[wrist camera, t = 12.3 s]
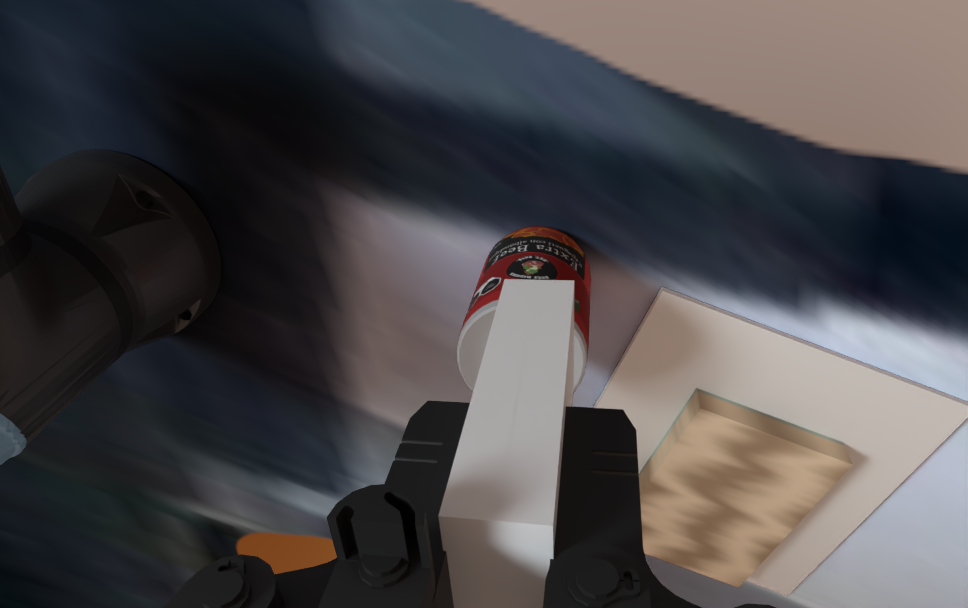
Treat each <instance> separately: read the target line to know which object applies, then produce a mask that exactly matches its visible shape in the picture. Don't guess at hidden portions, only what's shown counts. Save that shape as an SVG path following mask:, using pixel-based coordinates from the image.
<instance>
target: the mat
mask: <svg viewBox="0 0 968 608" xmlns="http://www.w3.org/2000/svg"><path fill="white" fill-rule="evenodd" d="M696 388H698V389H701V390H704V391H706V392H709V393H712V394H714V395H717V396H720V397H722V398H725V399H728V400H731V401H733V402H736V403H739V404H741V405H744V406H747V407H749V408H752V409H755V410H757V411H760V412H763V413H765V414H768V415H771V416H774V417H776V418H779V419H782V420H784V421H787V422H790V423H792V424H795V425H798V426H800V427H803V428H806V429H808V430H811V431H814V432H817V433H819V434H822V435H825V436H827V437H830V438H833V439H835V440H838V441H841V442H843V444H844V446H845V448H846V450H847V453H848V455H849V457H850V459H851V462H852V464H853V465H852V466H851V467H850V469H849V470H848V471H847V472H846V473H845V474H844V475H843V476H842V477H841V478H840V479H839V480H838V481H837V483H836V484H835V485H834V486H833V487H832V488H831V489H830V490H829V491H828V492H827V493H826V494H825V495H824V497H823V498H822V499H821V500H820V501H819V502H818V503H817V504H816V505H815V506H814V507H813V508H812V509H811V511H810V512H809V513H808V514H807V515H806V516H805V517H804V518H803V519H802V520H801V521H800V522H799V523H798V525H797V526H796V527H795V528H794V529H793V530H792V531H791V532H790V533H789V534H788V535H787V536H786V537H785V539H784V540H783V541H782V542H781V543H780V544H779V545H778V546H777V547H776V548H775V549H774V550H773V551H772V553H771V554H770V555H769V556H768V557H767V558H766V559H765V560H764V561H763V562H762V563H761V564H760V565H759V567H758V568H757V569H756V570H755V571H754V572H753V573H752V574H751V575H750V576H749V577H748V578H747V579H746V581H748V582H751V583H753V584H756V585H759V586H762V587H764V588H767V589H770V590H773V591H775V592H778V593H781V594H784V595H786V596H788V595H789V594H790V593H791V592H792V591H793V590H794V589H795V588H796V587H797V586H798V585H799V584H800V583H801V582H802V581H803V580H804V579H805V578H806V577H807V576H808V575H809V574H810V573H811V572H812V571H813V570H814V569H815V568H816V567H817V566H818V565H819V564H820V563H821V562H822V561H823V560H824V559H825V558H826V557H827V556H828V555H829V554H830V553H831V552H832V551H833V550H834V549H835V548H836V547H837V546H838V545H839V544H840V543H841V542H842V541H843V540H844V539H845V538H846V537H847V536H848V535H849V534H850V533H851V532H852V531H853V530H855V529H856V528H857V527H858V526H859V525H860V524H861V523H862V522H863V521H864V520H865V519H866V518H867V517H868V516H869V515H870V514H871V513H872V512H873V511H874V510H875V509H876V508H877V507H878V506H879V505H880V504H881V503H882V502H883V501H884V500H885V499H886V498H887V497H888V496H889V495H890V494H891V493H892V492H893V491H894V490H895V489H896V488H897V487H898V486H899V485H900V484H901V483H902V482H903V481H904V480H905V479H906V478H907V477H908V476H909V475H910V474H911V473H912V472H913V471H914V470H915V469H916V468H917V467H918V466H919V465H920V464H921V463H922V462H923V461H924V460H925V459H926V458H927V457H928V456H929V455H930V454H931V453H932V452H933V451H934V450H935V449H936V448H937V447H938V446H939V445H940V444H941V443H943V442H944V441H945V440H946V439H947V438H948V437H949V436H950V435H951V434H952V433H953V432H954V431H955V430H956V429H957V428H958V427H959V426H960V425H961V424H962V423H963V422H964V421H965V420H966V419H967V418H968V402H967V401H964V400H961V399H959V398H956V397H953V396H951V395H948V394H945V393H943V392H940V391H937V390H935V389H932V388H929V387H927V386H924V385H921V384H919V383H916V382H913V381H911V380H908V379H906V378H903V377H900V376H898V375H895V374H892V373H890V372H887V371H884V370H882V369H879V368H876V367H874V366H871V365H868V364H866V363H863V362H860V361H858V360H855V359H852V358H850V357H847V356H844V355H842V354H839V353H836V352H834V351H831V350H829V349H826V348H823V347H821V346H818V345H815V344H813V343H810V342H807V341H805V340H802V339H799V338H797V337H794V336H791V335H789V334H786V333H783V332H781V331H778V330H775V329H773V328H770V327H767V326H765V325H762V324H759V323H757V322H754V321H752V320H749V319H746V318H744V317H741V316H738V315H736V314H733V313H730V312H728V311H725V310H722V309H720V308H717V307H714V306H712V305H709V304H706V303H704V302H701V301H698V300H696V299H693V298H690V297H688V296H685V295H682V294H680V293H677V292H675V291H672V290H669V289H667V288H664V287H661V289H660V291H659V292H658V294H657V296H656V298H655V299H654V301H653V303H652V305H651V307H650V308H649V310H648V312H647V314H646V315H645V317H644V319H643V321H642V322H641V324H640V326H639V328H638V329H637V331H636V333H635V335H634V336H633V338H632V340H631V342H630V343H629V345H628V347H627V349H626V351H625V352H624V354H623V356H622V358H621V359H620V361H619V363H618V365H617V366H616V368H615V370H614V372H613V373H612V375H611V377H610V379H609V380H608V382H607V384H606V386H605V388H604V389H603V391H602V393H601V395H600V396H599V398H598V400H597V402H596V403H595V405H594V407H593V408H606V409H623V410H624V412H625V413H626V415H627V416H628V418H629V420H630V421H631V423H632V424H633V426H634V427H635V429H636V434H637V451H638V469H639V473H640V471H641V470H642V468H643V467H644V465H645V464H646V462H647V461H648V459H649V458H650V456H651V455H652V453H653V452H654V450H655V449H656V447H657V446H658V444H659V443H660V441H661V440H662V438H663V437H664V435H665V434H666V432H667V431H668V429H669V428H670V426H671V425H672V423H673V422H674V420H675V419H676V417H677V416H678V414H679V413H680V412H681V410H682V409H683V407H684V406H685V404H686V403H687V401H688V400H689V398H690V397H691V395H692V394H693V392H694V391H695V389H696Z"/></svg>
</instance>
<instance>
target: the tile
mask: <svg viewBox="0 0 968 608" xmlns="http://www.w3.org/2000/svg"><path fill="white" fill-rule="evenodd" d="M852 465H853V464H852V462H851V459H850V457H849V455H848V453H847V450H846V448H845V446H844V444H843V442H841V441H838V440H835V439H833V438H830V437H827V436H825V435H822V434H819V433H817V432H814V431H811V430H808V429H806V428H803V427H800V426H798V425H795V424H792V423H790V422H787V421H784V420H782V419H779V418H776V417H774V416H771V415H768V414H765V413H763V412H760V411H757V410H755V409H752V408H749V407H747V406H744V405H741V404H739V403H736V402H733V401H731V400H728V399H725V398H722V397H720V396H717V395H714V394H712V393H709V392H706V391H704V390H701V389H698V388H696V389H695V391H694V392H693V394H692V395H691V397H690V398H689V400H688V401H687V403H686V404H685V406H684V407H683V409H682V410H681V412H680V413H679V414H678V416H677V417H676V419H675V420H674V422H673V423H672V425H671V426H670V428H669V429H668V431H667V432H666V434H665V435H664V437H663V438H662V440H661V441H660V443H659V444H658V446H657V447H656V449H655V450H654V452H653V453H652V455H651V456H650V458H649V459H648V461H647V462H646V464H645V465H644V467H643V468H642V470H641V471H640V473H639V486H640V503H641V520H642V537H643V550H644V553H645V554H647V555H650V556H653V557H656V558H658V559H661V560H664V561H667V562H670V563H672V564H675V565H678V566H681V567H683V568H686V569H689V570H692V571H694V572H697V573H700V574H703V575H705V576H708V577H711V578H714V579H716V580H719V581H722V582H725V583H727V584H730V585H733V586H736V587H740V586H741V585H742V584H743V583H744V582H745V581H746V579H747V578H748V577H749V576H750V575H751V574H752V573H753V572H754V571H755V570H756V569H757V568H758V567H759V565H760V564H761V563H762V562H763V561H764V560H765V559H766V558H767V557H768V556H769V555H770V554H771V553H772V551H773V550H774V549H775V548H776V547H777V546H778V545H779V544H780V543H781V542H782V541H783V540H784V539H785V537H786V536H787V535H788V534H789V533H790V532H791V531H792V530H793V529H794V528H795V527H796V526H797V525H798V523H799V522H800V521H801V520H802V519H803V518H804V517H805V516H806V515H807V514H808V513H809V512H810V511H811V509H812V508H813V507H814V506H815V505H816V504H817V503H818V502H819V501H820V500H821V499H822V498H823V497H824V495H825V494H826V493H827V492H828V491H829V490H830V489H831V488H832V487H833V486H834V485H835V484H836V483H837V481H838V480H839V479H840V478H841V477H842V476H843V475H844V474H845V473H846V472H847V471H848V470H849V469H850V467H851V466H852Z"/></svg>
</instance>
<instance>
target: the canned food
mask: <svg viewBox="0 0 968 608" xmlns="http://www.w3.org/2000/svg"><path fill="white" fill-rule="evenodd" d="M505 279H527V280H574V382H573V393H574V392H575V390H576V389H577V387H578V386H579V384H580V383H581V381H582V378H583V376H584V373H585V368H586V364H587V357H588V345H589V315H590V286H591V276H590V267H589V264H588V261H587V258H586V257H585V255H584V253H583V251H582V250H581V248H580V247H579V246H578V245H577V244H576V243H575V241H574V240H573V239H571V238H570V237H569V236H567V235H566V234H564V233H562V232H560V231H558V230H556V229H553V228H549V227H542V226H533V227H525V228H522V229H519V230H516V231H514V232H512V233H511V234H509V235H507V236H506V237H504V238H503V239H502V240H501V241H499V242H498V243H497V244H496V245H495V246H494V248H493V249H492V250H491V252H490V253H489V255H488V257H487V259H486V262H485V265H484V267H483V270H482V273H481V276H480V278H479V281H478V284H477V287H476V290H475V292H474V295H473V298H472V301H471V303H470V306H469V309H468V312H467V315H466V317H465V320H464V323H463V327H462V330H461V333H460V337H459V341H458V347H457V362H458V367H459V371H460V373H461V375H462V377H463V380H464V381H465V383H466V384H467V385H468V387H469V388H470V389H471V390H472V391H473V390H474V387H475V383H476V380H477V376H478V373H479V369H480V365H481V362H482V358H483V355H484V351H485V348H486V344H487V340H488V337H489V333H490V330H491V326H492V323H493V319H494V315H495V312H496V308H497V305H498V301H499V297H500V294H501V290H502V287H503V283H504V280H505Z"/></svg>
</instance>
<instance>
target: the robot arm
mask: <svg viewBox="0 0 968 608" xmlns="http://www.w3.org/2000/svg"><path fill="white" fill-rule="evenodd" d="M220 280H221V257H220V252H219V248H218V244H217V241H216V238H215V236H214V233H213V231H212V229H211V227H210V225H209V223H208V221H207V219H206V218H205V216H204V214H203V213H202V211H201V210H200V209H199V207H198V206H197V205H196V203H195V202H194V201H193V200H192V198H191V197H190V196H189V195H188V194H187V193H186V192H185V191H184V190H183V189H182V188H181V187H180V186H179V185H178V184H177V183H176V182H174V181H173V180H172V179H171V178H169V177H168V176H167V175H165V174H164V173H163V172H161V171H160V170H158V169H156V168H155V167H153V166H151V165H150V164H148V163H146V162H144V161H142V160H140V159H137V158H135V157H132V156H129V155H126V154H123V153H119V152H115V151H109V150H84V151H79V152H75V153H72V154H70V155H67V156H65V157H63V158H61V159H59V160H56V161H54V162H52V163H50V164H48V165H46V166H44V167H43V168H41V169H40V170H39V171H37V172H36V173H35V174H34V175H33V176H32V177H31V178H30V179H29V180H28V181H27V182H26V184H25V185H24V187H23V188H22V189H21V190H20V191H19V192H18V193H17V195H16V196H15V197H14V198H13V195H12V193H11V191H10V188H9V186H8V183H7V181H6V178H5V176H4V173H3V171H2V168H1V166H0V465H1V464H2V463H3V462H5V461H6V460H7V459H9V458H11V457H14V456H16V455H18V454H19V453H21V451H22V450H23V449H24V447H26V446H25V445H26V444H28V443H29V442H30V441H31V440H32V439H33V438H34V437H35V436H36V435H37V434H38V433H39V432H40V431H41V430H42V429H44V428H45V427H46V426H47V425H48V424H49V423H50V422H51V421H52V420H53V419H54V418H55V417H56V416H57V415H58V414H60V413H61V412H62V411H63V410H64V409H65V408H66V407H67V406H68V405H69V404H70V403H71V402H72V401H73V400H74V399H76V398H77V397H78V396H79V395H80V394H81V393H82V392H83V391H84V390H85V389H86V388H87V387H88V386H89V385H90V384H92V383H93V382H94V381H95V380H96V379H97V378H98V377H99V376H100V375H101V374H102V373H103V372H104V371H105V370H106V369H108V368H109V367H110V366H111V365H112V364H113V363H114V362H115V361H116V360H117V359H118V358H119V357H121V356H122V355H123V354H124V353H126V352H129V351H131V350H134V349H136V348H139V347H142V346H144V345H147V344H149V343H152V342H154V341H157V340H160V339H162V338H165V337H167V336H170V335H173V334H175V333H177V332H179V331H181V330H183V329H184V328H186V327H187V326H189V325H190V324H191V323H192V322H193V321H194V320H196V319H197V318H198V317H199V316H200V315H201V314H202V313H203V312H204V311H205V310H206V309H207V308H208V307H209V305H210V304H211V303H212V301H213V300H214V298H215V296H216V294H217V292H218V289H219V285H220ZM573 382H574V280H527V279H505V280H504V283H503V287H502V290H501V294H500V297H499V301H498V305H497V308H496V312H495V315H494V319H493V323H492V326H491V330H490V333H489V337H488V340H487V344H486V348H485V351H484V355H483V358H482V362H481V365H480V369H479V373H478V376H477V380H476V383H475V387H474V390H473V394H472V398H471V401H470V403H461V402H443V401H427V402H426V403H425V404H424V405H423V406H422V407H421V408H420V409H419V410H418V411H417V412H416V413H415V414H414V415H413V416H412V417H411V418H410V420H409V422H408V425H407V428H406V430H405V433H404V435H403V438H402V443H401V444H400V445H399V448H398V451H397V453H396V456H395V461H393V463H392V466H391V469H390V471H389V474H388V476H387V479H386V481H385V484H382V485H370V486H367V487H365V488H362V489H359V490H356V491H354V492H352V493H350V494H349V495H348V496H346V497H345V498H343V499H342V500H341V501H339V502H338V503H337V504H336V505H335V507H334V508H333V509H332V511H331V512H330V514H329V515H328V516H327V521H328V524H329V528H330V532H331V536H332V540H333V543H334V547H335V551H336V555H337V558H336V559H334V560H332V561H330V562H328V563H324V564H321V565H318V566H315V567H310V568H305V569H300V570H295V571H290V572H285V573H280V574H274V573H273V570H272V568H271V566H270V565H269V564H268V563H266V562H265V561H263V560H262V559H260V558H259V557H255V556H249V555H236V556H231V557H226V558H222V559H220V560H217V561H215V562H213V563H211V564H209V565H207V566H205V567H203V568H202V569H201V570H200V571H199V572H197V573H196V574H195V575H194V576H193V577H192V578H190V579H189V580H188V581H187V582H186V583H185V584H184V585H183V586H182V587H181V589H180V590H179V591H178V592H177V593H176V594H175V595H174V596H173V597H172V598H171V600H170V601H169V602H168V603H167V604H166V605H165V606H164V607H163V608H702V607H699V606H697V605H694V604H692V603H690V602H688V601H686V600H684V599H682V598H680V597H678V596H676V595H674V594H673V593H672V592H671V591H669V590H668V589H667V588H666V587H664V586H663V585H662V584H661V583H660V582H659V580H658V579H657V578H656V577H655V576H654V575H653V573H652V572H651V570H650V568H649V566H648V564H647V562H646V559H645V554H644V550H643V537H642V520H641V503H640V486H639V469H638V451H637V434H636V429H635V427H634V426H633V424H632V423H631V421H630V420H629V418H628V416H627V415H626V413H625V412H624V410H623V409H606V408H587V407H572V397H573ZM735 608H775V607H773V606H770V605H761V604H744V605H741V606H738V607H735Z"/></svg>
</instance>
